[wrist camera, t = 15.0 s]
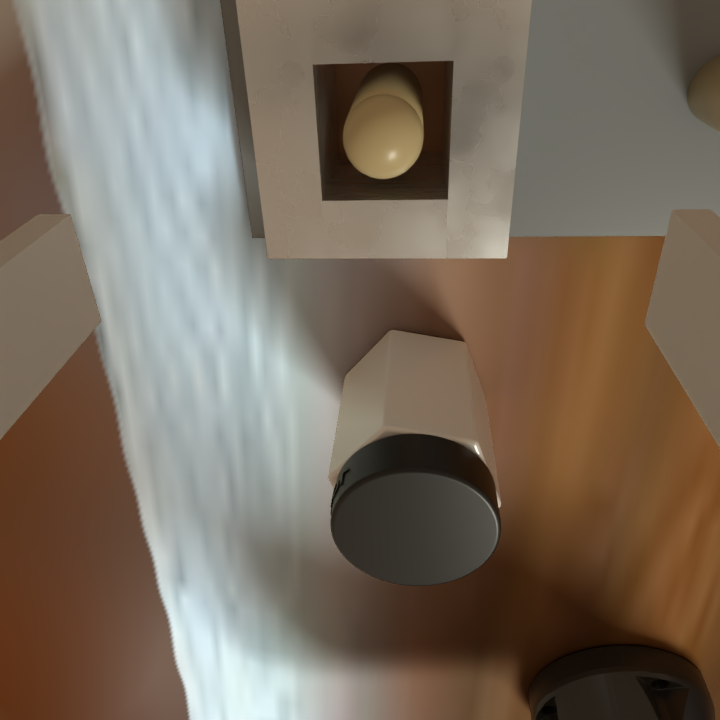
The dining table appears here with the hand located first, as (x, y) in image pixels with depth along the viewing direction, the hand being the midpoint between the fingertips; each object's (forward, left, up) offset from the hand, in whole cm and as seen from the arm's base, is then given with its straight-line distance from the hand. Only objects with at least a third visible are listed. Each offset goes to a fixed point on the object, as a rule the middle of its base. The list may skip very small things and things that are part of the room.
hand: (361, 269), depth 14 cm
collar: (0, 0, -19) cm, 19 cm away
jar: (-16, +7, -20) cm, 26 cm away
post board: (-4, -7, -20) cm, 21 cm away
